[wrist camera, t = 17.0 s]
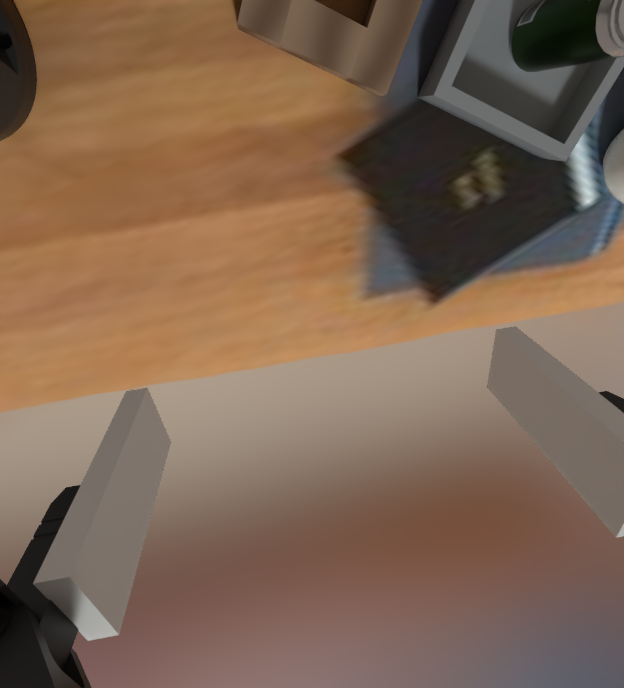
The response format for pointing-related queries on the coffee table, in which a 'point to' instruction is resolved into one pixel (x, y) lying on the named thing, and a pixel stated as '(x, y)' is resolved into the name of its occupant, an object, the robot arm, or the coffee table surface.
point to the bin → (512, 82)
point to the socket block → (336, 36)
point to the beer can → (567, 33)
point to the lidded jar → (615, 167)
